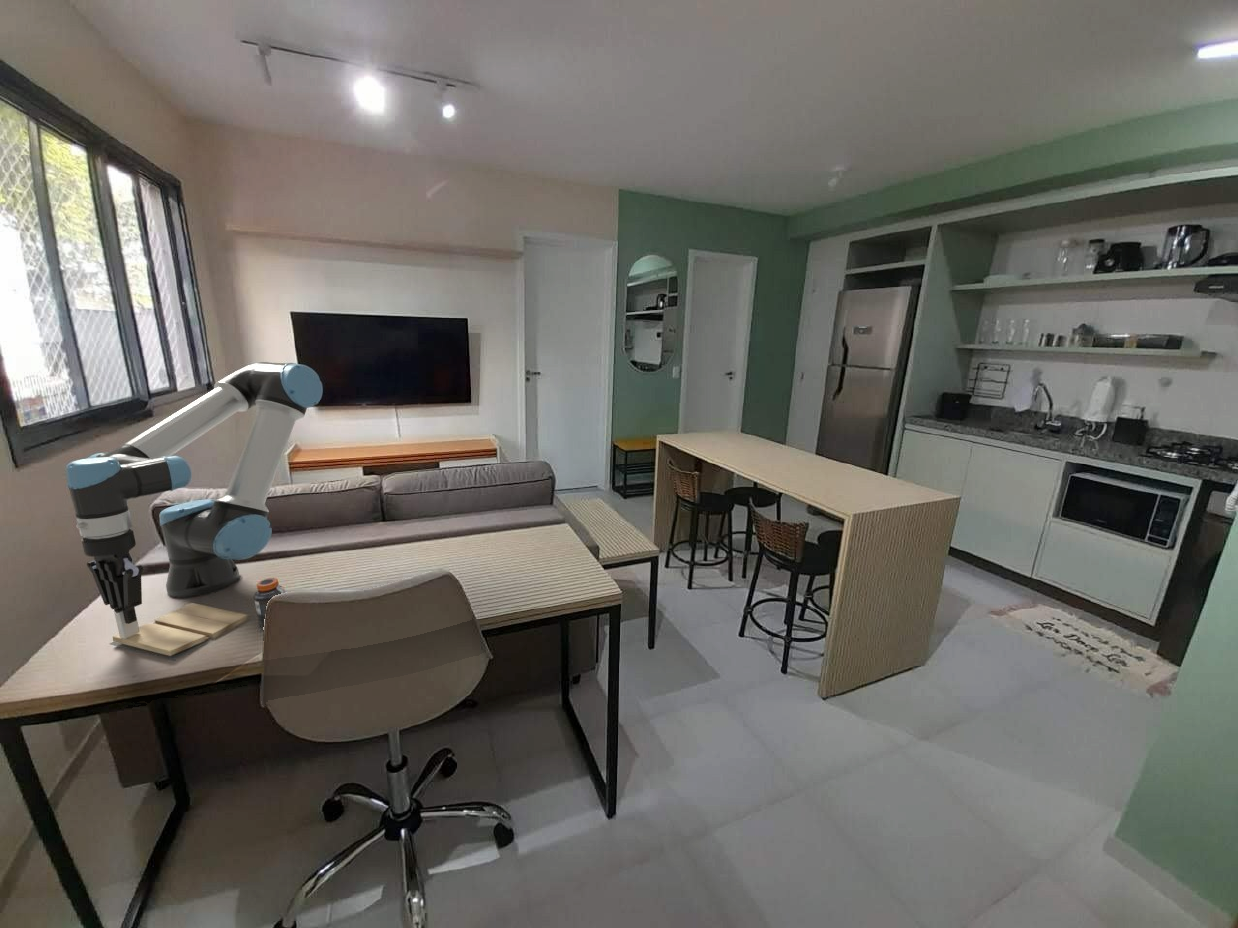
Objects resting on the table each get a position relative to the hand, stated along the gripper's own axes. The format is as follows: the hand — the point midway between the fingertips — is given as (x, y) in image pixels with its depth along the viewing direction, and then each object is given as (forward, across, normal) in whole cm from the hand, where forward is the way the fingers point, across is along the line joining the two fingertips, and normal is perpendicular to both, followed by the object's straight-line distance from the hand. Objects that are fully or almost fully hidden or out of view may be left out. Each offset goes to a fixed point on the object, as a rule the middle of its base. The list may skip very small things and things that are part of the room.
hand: (130, 634), depth 107 cm
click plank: (+2, +6, +2) cm, 6 cm away
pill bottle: (+2, +22, +15) cm, 27 cm away
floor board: (+2, +6, +11) cm, 12 cm away
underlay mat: (+2, +5, +7) cm, 9 cm away
